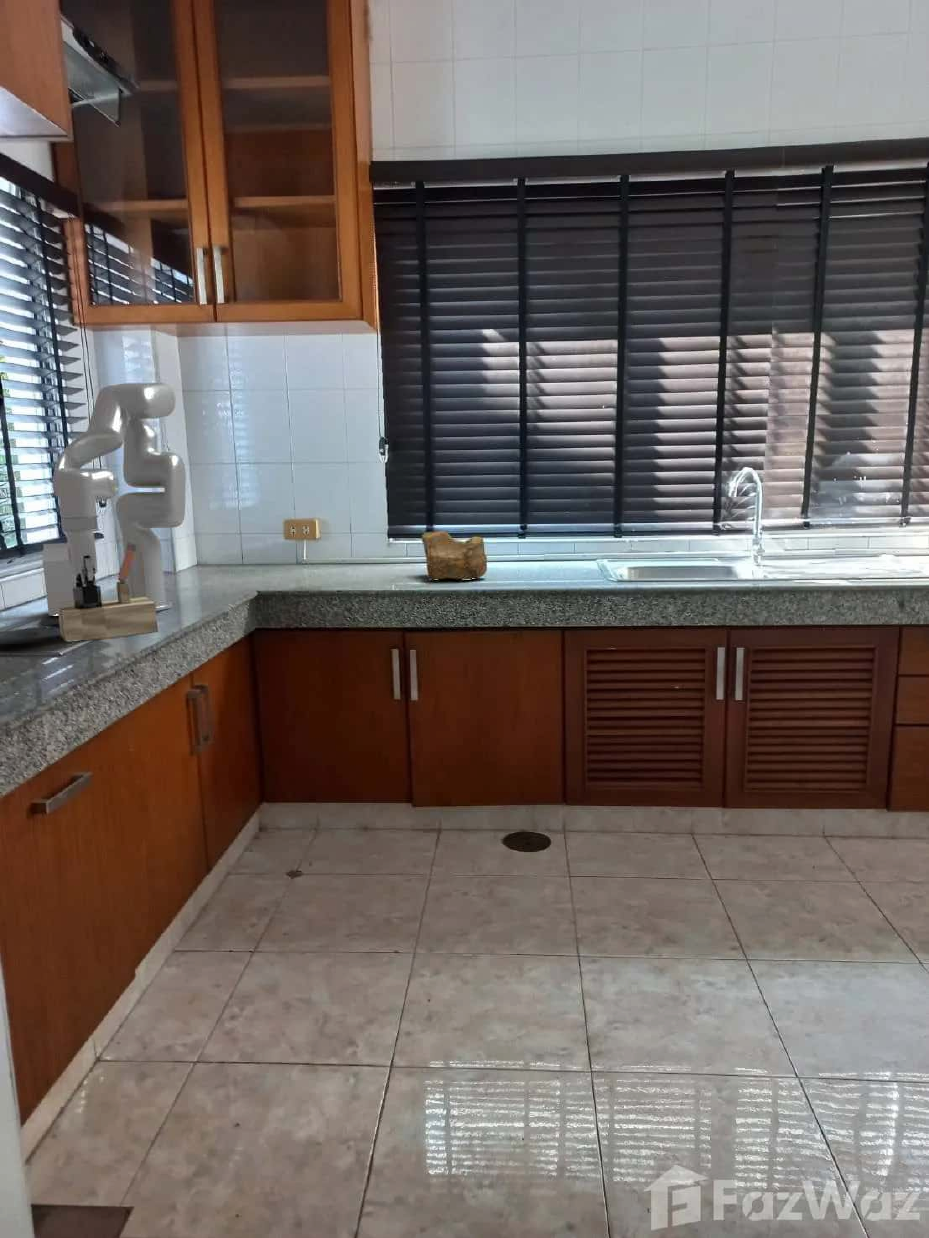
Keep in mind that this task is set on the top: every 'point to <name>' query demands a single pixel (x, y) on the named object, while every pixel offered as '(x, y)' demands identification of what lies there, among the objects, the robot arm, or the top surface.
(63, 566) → the milk carton
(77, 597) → the dark grey metal block
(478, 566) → the rough brown rock
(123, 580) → the keeper bar
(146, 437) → the robot arm
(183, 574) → the top surface
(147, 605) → the block
